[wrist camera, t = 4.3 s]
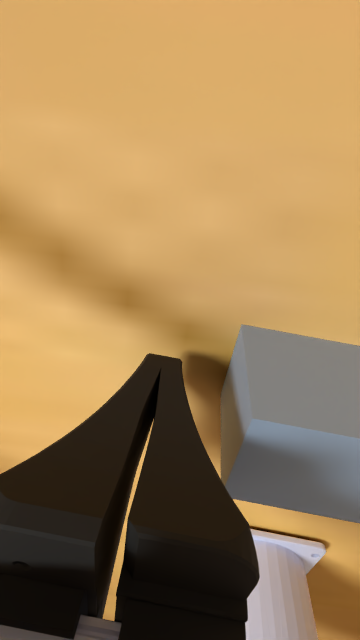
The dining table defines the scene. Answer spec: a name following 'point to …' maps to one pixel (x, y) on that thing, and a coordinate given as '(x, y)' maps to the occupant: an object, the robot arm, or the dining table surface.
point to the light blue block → (292, 423)
